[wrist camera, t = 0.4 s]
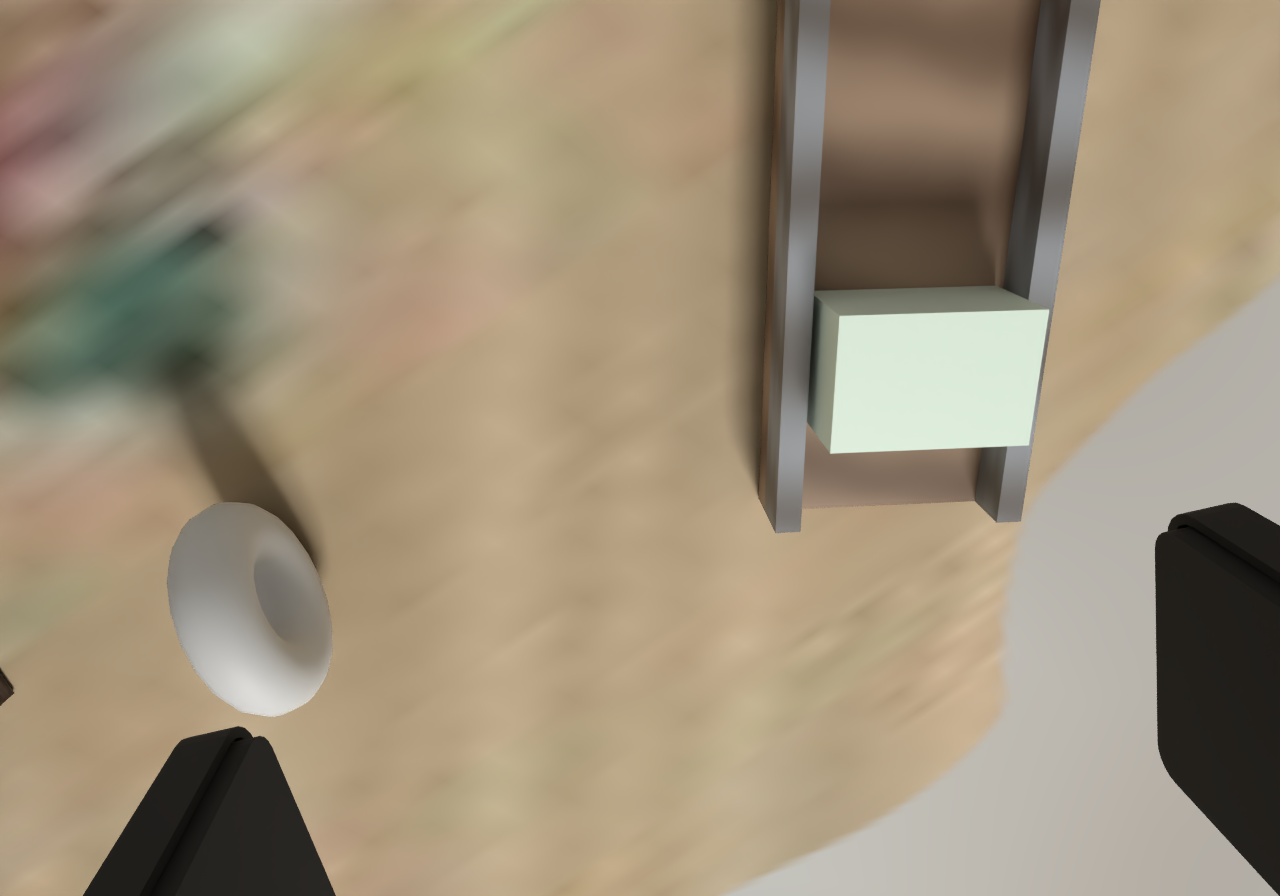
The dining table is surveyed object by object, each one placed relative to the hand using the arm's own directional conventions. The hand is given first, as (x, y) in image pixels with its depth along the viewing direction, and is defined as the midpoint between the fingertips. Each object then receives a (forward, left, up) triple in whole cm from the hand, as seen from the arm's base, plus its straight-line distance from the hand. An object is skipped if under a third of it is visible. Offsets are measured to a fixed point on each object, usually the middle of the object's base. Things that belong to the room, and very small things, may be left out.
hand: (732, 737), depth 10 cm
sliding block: (+5, +14, -33) cm, 36 cm away
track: (-3, +14, -35) cm, 37 cm away
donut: (+15, -16, -35) cm, 41 cm away
